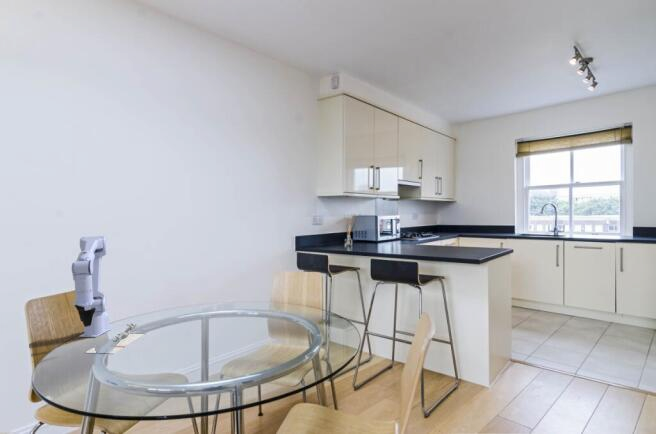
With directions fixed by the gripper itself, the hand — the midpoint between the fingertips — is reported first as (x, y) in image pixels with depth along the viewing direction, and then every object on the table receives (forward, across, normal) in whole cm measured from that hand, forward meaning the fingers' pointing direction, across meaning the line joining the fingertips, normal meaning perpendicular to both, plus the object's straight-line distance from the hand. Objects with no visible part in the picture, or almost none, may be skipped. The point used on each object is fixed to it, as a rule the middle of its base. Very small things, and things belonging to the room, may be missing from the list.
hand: (85, 323), depth 140 cm
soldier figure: (+10, +1, +13) cm, 17 cm away
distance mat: (+10, +4, +10) cm, 14 cm away
